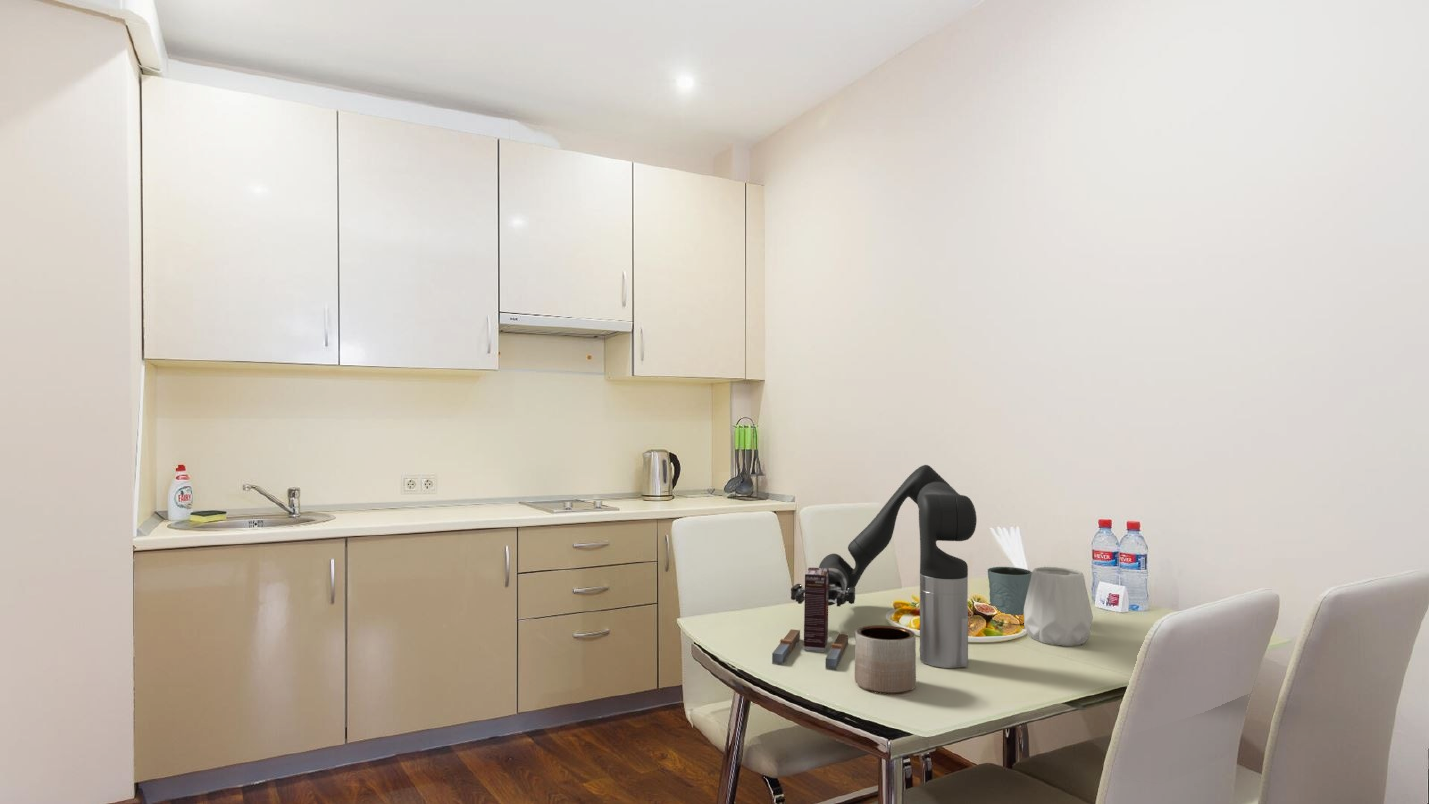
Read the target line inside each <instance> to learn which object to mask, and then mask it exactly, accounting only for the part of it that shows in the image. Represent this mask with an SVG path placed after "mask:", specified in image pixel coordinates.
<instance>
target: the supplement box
mask: <svg viewBox="0 0 1429 804" xmlns="http://www.w3.org/2000/svg"><path fill="white" fill-rule="evenodd" d="M804 588H805V593H804V596H805V600H804V607H803V609H804V612H803V613H804V615H803V616H804V617H803V619H804V621H803V651H806V652H819V653H820V652H821V653H825V652H826V649H827V644H828V642H829V639H828V638H829V606H828V589H829V569H826V568H819V567H808V568H807V571H806V573H805V574H804Z"/></svg>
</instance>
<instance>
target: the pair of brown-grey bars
mask: <svg viewBox="0 0 1429 804" xmlns="http://www.w3.org/2000/svg"><path fill="white" fill-rule="evenodd" d="M800 639H801V629H790V630H789V631H788V633H786V635H785V636H784V637H783V638H781V639H780V641H779V644H778V645H777V646H776V648H775V649H774V650H773V652H772V654H771V661H772V662H771V664H773V665H783V664H784V663H785V661H786V660H787V659H788V658H789V655H790V654H791V653H792V652H793V649H794V648H795V647H796V646H797V644H798V643H799V641H800ZM848 645H849V633H838V634H837V637H836V638H835V640H834V642H833V643H831V647H830V649H829V651H828V652H827V654H826V657H825V666H824V667H825V670H834V671H836V670H837V668H838V666H839V664H840V662H841V660H842V658H843V656H844V653H845V652H846V648H847V647H848Z"/></svg>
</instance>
